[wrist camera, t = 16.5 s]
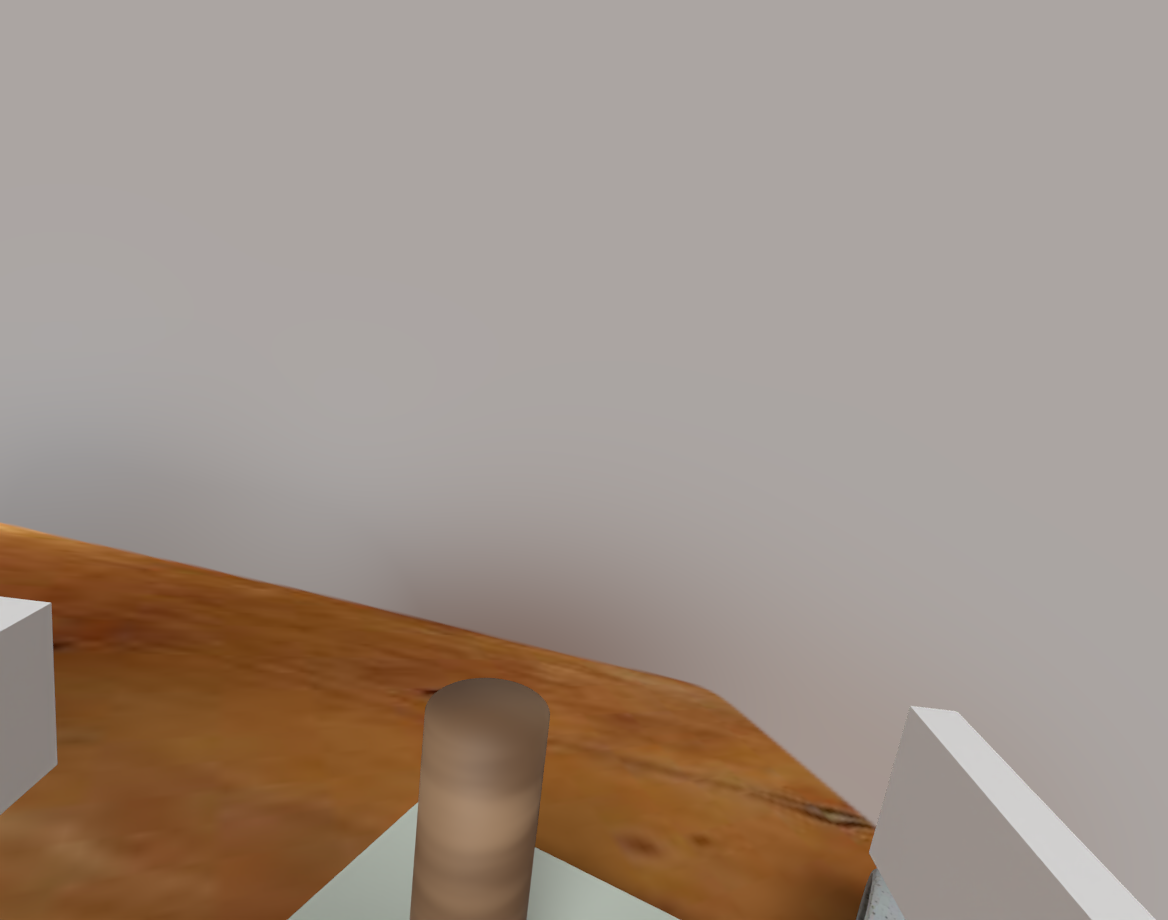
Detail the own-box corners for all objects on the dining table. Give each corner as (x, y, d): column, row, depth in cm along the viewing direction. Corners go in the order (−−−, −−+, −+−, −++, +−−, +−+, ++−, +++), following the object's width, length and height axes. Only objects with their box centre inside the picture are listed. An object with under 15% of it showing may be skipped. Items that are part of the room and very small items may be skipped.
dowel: (464, 1193, 22) (508, 767, 19) (371, 1122, 24) (398, 719, 20) (525, 1077, 26) (570, 702, 22) (441, 1022, 27) (472, 666, 24)
